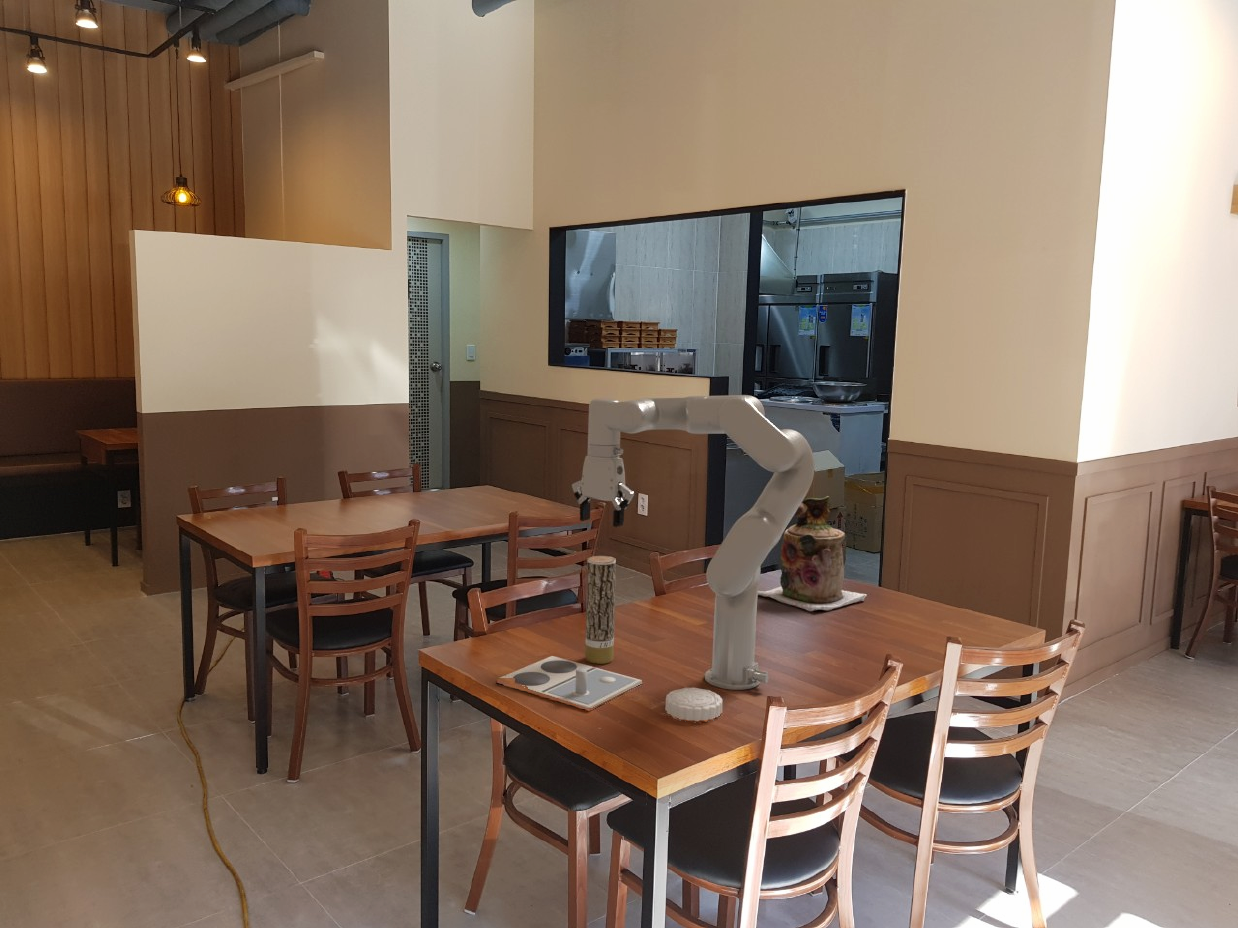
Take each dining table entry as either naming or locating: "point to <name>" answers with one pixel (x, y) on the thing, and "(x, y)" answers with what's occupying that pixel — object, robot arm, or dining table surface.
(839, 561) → the cookie jar
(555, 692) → the board
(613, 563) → the paper tube
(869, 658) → the dining table surface
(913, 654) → the dining table surface
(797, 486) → the robot arm
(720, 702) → the mooncake
